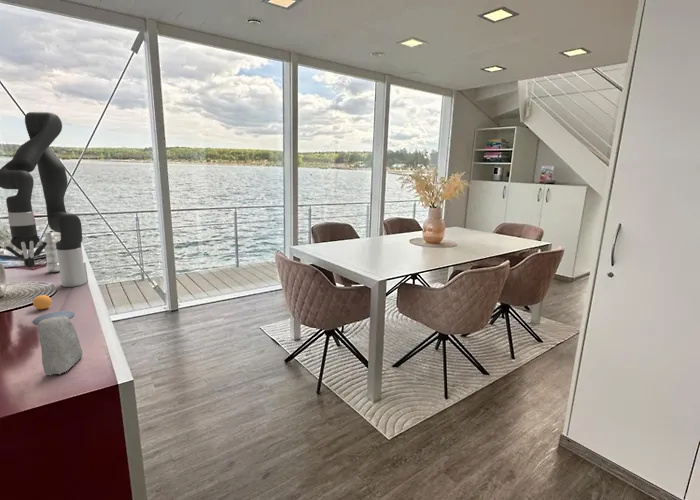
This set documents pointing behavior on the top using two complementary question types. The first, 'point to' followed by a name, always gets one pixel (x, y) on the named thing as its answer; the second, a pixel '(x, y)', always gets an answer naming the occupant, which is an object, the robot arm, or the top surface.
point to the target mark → (54, 314)
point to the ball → (42, 302)
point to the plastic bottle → (51, 253)
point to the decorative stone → (58, 344)
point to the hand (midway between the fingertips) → (30, 267)
